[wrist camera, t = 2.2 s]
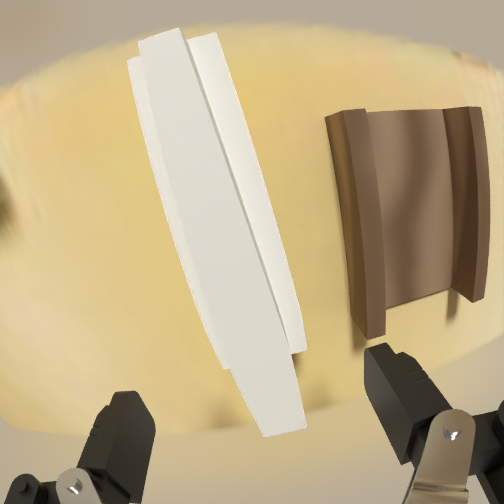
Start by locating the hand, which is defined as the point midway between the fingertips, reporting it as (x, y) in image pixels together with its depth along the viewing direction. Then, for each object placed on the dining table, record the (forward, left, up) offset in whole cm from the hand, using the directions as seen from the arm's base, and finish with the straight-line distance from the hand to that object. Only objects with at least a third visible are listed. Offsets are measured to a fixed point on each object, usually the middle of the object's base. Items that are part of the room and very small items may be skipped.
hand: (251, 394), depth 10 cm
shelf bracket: (0, -1, -14) cm, 14 cm away
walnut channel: (-14, -1, -14) cm, 20 cm away
